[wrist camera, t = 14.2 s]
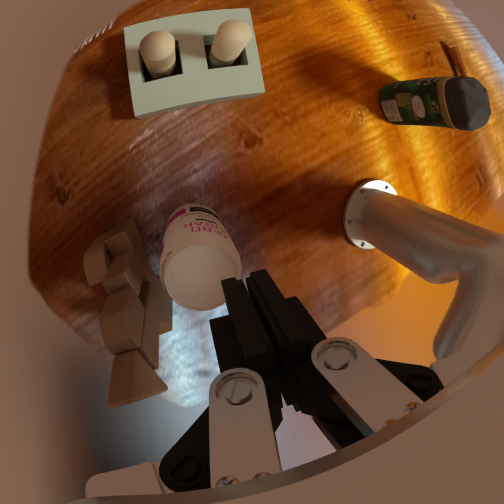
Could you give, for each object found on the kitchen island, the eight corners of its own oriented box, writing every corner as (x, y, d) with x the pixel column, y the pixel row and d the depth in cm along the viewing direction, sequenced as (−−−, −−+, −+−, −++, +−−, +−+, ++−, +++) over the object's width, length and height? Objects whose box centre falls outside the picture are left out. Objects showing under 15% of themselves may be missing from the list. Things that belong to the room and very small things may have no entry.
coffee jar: (406, 79, 36) (487, 75, 20) (417, 117, 40) (497, 126, 23) (371, 85, 36) (459, 77, 19) (384, 128, 39) (473, 138, 23)
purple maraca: (464, 44, 31) (493, 121, 39) (445, 48, 36) (474, 122, 44) (458, 46, 30) (489, 128, 38) (438, 50, 35) (469, 128, 43)
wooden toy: (94, 235, 35) (16, 352, 12) (133, 216, 35) (75, 329, 13) (142, 316, 42) (132, 454, 19) (177, 302, 42) (189, 443, 20)
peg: (174, 54, 28) (173, 26, 19) (177, 77, 29) (177, 55, 21) (147, 60, 27) (137, 34, 18) (150, 84, 29) (140, 64, 20)
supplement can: (173, 262, 39) (173, 324, 26) (158, 209, 36) (146, 250, 23) (226, 249, 41) (251, 304, 27) (215, 195, 37) (236, 227, 24)
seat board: (242, 19, 28) (262, -13, 19) (256, 97, 33) (281, 83, 24) (128, 37, 25) (114, 8, 16) (139, 119, 30) (124, 111, 22)
